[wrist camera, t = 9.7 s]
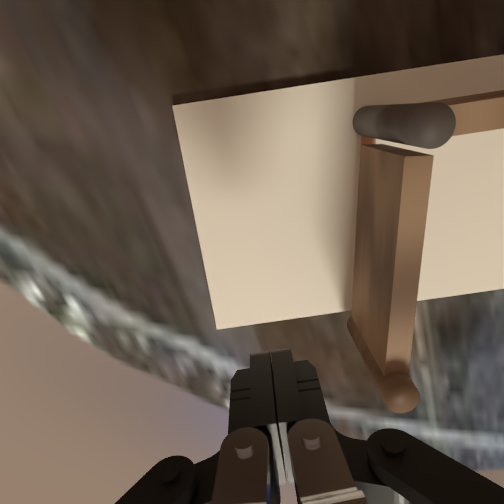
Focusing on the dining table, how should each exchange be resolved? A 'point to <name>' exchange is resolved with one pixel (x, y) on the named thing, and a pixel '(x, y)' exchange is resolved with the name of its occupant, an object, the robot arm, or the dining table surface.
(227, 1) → the dining table surface
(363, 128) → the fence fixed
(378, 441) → the robot arm
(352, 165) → the card
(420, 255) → the swing panel
